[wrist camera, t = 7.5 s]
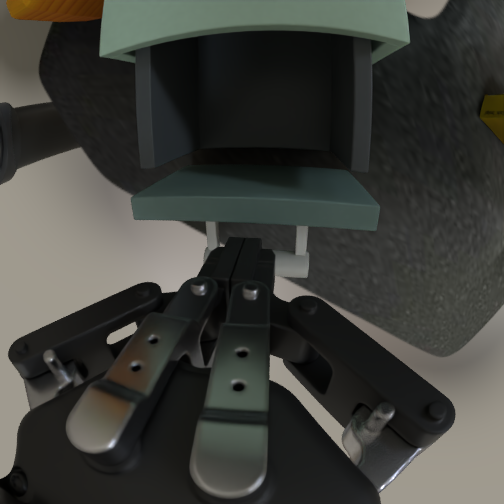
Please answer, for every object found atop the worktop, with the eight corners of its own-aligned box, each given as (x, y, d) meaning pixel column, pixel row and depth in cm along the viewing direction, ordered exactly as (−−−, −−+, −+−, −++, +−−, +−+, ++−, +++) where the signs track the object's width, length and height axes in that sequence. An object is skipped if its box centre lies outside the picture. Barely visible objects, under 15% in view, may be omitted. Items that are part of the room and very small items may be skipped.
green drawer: (339, 242, 20) (358, 309, 13) (192, 234, 21) (149, 292, 15) (348, 6, 12) (376, -45, 5) (183, 10, 13) (128, -28, 6)
